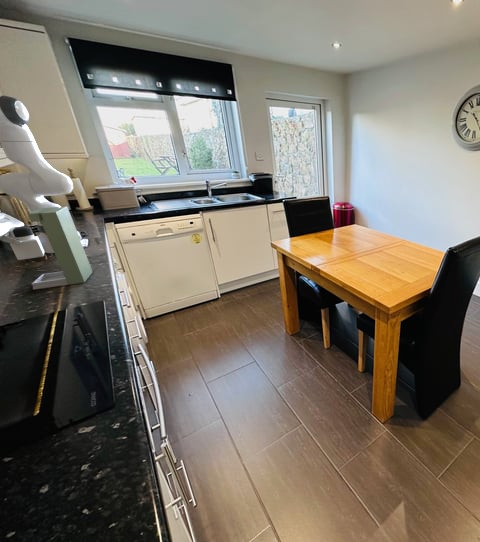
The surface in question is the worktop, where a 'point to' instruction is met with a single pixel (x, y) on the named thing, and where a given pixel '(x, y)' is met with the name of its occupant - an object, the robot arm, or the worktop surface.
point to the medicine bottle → (26, 243)
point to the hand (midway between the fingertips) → (26, 240)
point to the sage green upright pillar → (62, 248)
